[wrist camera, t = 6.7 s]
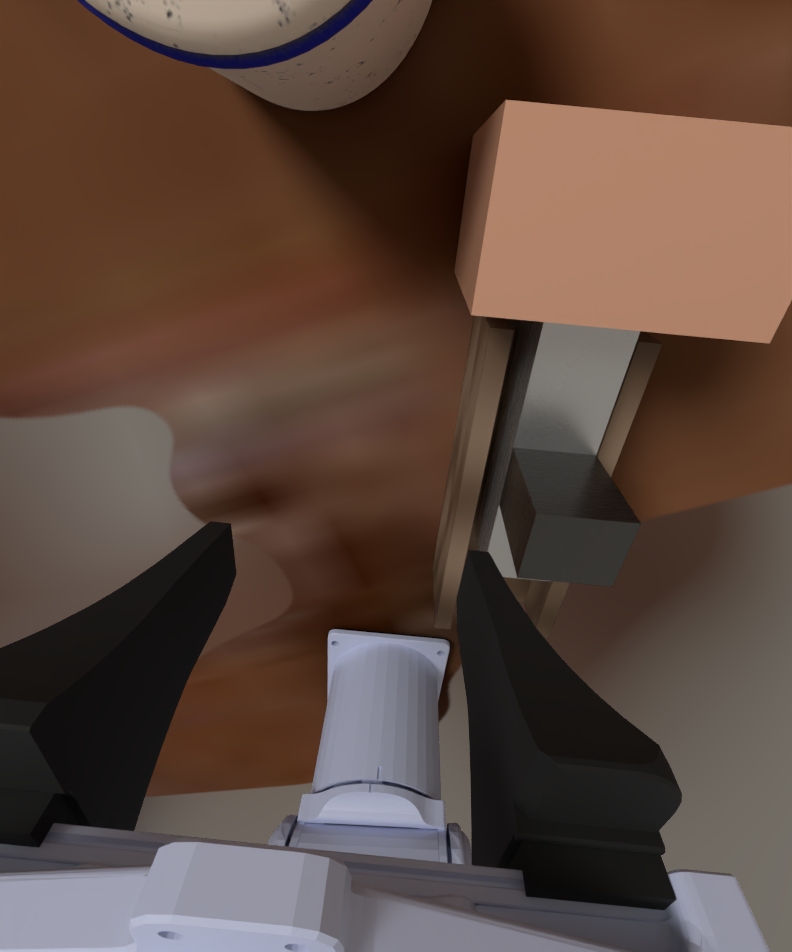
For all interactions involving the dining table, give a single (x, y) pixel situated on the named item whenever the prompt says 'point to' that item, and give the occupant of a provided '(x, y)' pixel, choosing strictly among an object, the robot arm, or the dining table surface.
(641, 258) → the tan square block
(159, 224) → the dining table surface
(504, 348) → the guide channel
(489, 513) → the slide bar
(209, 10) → the teacup with lid
